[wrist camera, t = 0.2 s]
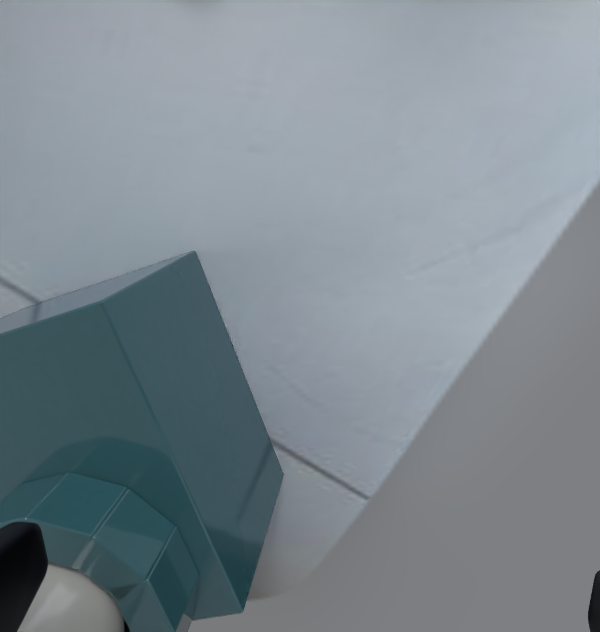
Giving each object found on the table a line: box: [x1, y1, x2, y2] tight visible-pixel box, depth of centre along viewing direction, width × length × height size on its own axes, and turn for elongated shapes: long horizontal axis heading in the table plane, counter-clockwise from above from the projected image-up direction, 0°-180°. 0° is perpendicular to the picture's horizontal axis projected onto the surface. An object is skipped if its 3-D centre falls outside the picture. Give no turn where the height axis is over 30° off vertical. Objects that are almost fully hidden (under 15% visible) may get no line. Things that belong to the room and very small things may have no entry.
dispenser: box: [0, 251, 284, 632], centre depth 18 cm, size 11×8×9 cm
